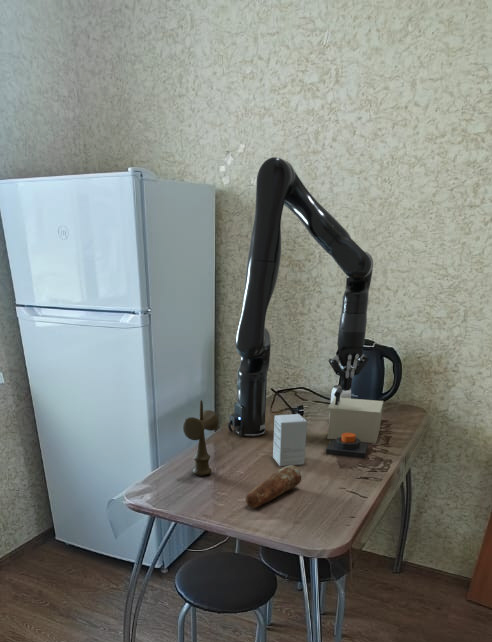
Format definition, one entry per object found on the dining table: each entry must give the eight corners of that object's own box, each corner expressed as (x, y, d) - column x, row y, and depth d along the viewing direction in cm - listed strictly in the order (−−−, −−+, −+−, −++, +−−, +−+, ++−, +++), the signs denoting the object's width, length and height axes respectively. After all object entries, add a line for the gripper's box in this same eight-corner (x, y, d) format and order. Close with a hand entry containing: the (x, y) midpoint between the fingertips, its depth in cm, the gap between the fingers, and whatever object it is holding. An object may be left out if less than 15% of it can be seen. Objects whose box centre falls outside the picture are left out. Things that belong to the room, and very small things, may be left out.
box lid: (327, 410, 177) (328, 394, 175) (334, 399, 188) (335, 384, 186) (379, 415, 172) (381, 398, 170) (383, 403, 184) (385, 387, 181)
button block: (325, 454, 168) (326, 443, 166) (330, 444, 175) (331, 433, 174) (364, 458, 165) (365, 446, 163) (367, 448, 172) (368, 437, 171)
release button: (340, 442, 167) (340, 435, 167) (342, 438, 171) (342, 431, 170) (354, 444, 166) (355, 437, 165) (355, 440, 170) (356, 433, 169)
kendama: (183, 477, 153) (181, 403, 143) (201, 466, 160) (200, 394, 151) (202, 481, 150) (202, 406, 141) (220, 469, 157) (220, 397, 148)
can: (325, 420, 198) (328, 385, 193) (340, 418, 201) (344, 383, 195) (336, 425, 193) (339, 389, 188) (352, 423, 195) (356, 387, 190)
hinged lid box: (327, 438, 181) (330, 410, 177) (333, 426, 192) (336, 400, 188) (375, 443, 176) (379, 415, 172) (379, 430, 188) (383, 403, 184)
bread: (302, 487, 146) (304, 467, 143) (258, 512, 133) (259, 490, 130) (281, 481, 150) (282, 461, 147) (236, 505, 137) (237, 483, 134)
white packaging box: (296, 456, 167) (299, 413, 161) (304, 465, 160) (308, 420, 154) (272, 457, 166) (274, 414, 160) (278, 466, 159) (281, 422, 153)
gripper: (340, 332, 158) (334, 395, 165) (379, 329, 162) (371, 390, 170) (324, 328, 164) (319, 389, 172) (363, 325, 168) (356, 385, 176)
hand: (345, 390), depth 171 cm, fingers closed
